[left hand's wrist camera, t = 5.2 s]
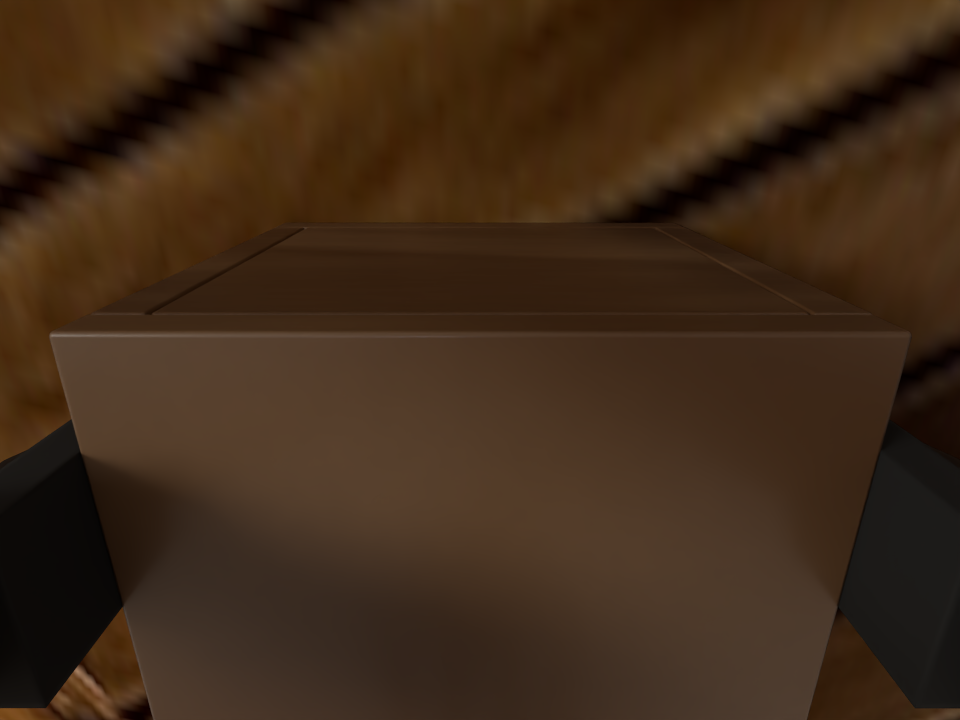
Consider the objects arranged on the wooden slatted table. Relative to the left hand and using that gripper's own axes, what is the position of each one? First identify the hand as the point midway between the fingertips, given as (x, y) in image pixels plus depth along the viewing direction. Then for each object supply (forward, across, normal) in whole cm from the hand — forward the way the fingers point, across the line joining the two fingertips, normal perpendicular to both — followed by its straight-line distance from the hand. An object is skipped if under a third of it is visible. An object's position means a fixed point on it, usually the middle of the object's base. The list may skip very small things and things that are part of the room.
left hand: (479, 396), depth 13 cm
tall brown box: (+5, 0, -6) cm, 8 cm away
